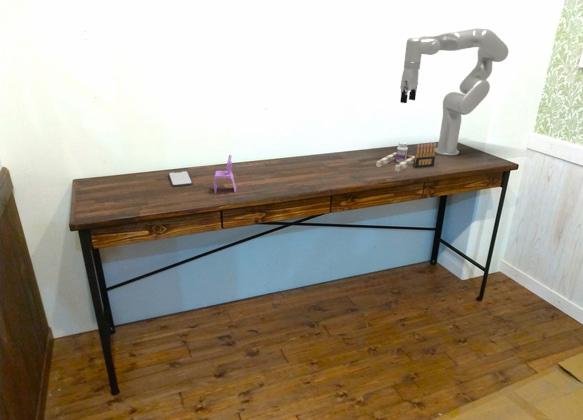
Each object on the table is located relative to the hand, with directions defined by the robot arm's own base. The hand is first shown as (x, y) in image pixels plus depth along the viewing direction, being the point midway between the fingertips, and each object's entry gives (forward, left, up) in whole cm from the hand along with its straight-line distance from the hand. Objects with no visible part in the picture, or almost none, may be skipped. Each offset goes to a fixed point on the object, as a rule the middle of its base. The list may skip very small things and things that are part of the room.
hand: (407, 101), depth 227 cm
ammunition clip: (+9, +16, -29) cm, 34 cm away
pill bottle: (+9, +4, -28) cm, 30 cm away
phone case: (+97, -60, -29) cm, 118 cm away
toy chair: (+93, -36, -29) cm, 104 cm away
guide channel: (+14, +4, -28) cm, 32 cm away
